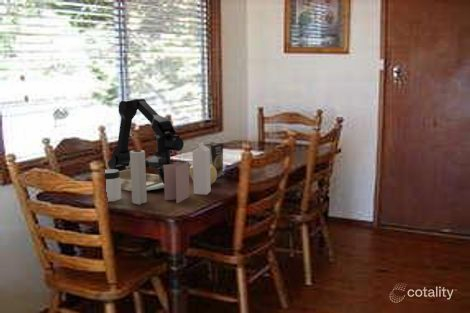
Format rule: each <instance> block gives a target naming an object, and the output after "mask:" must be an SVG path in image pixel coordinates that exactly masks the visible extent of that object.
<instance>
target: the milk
mask: <svg viewBox="0 0 470 313" xmlns="http://www.w3.org/2000/svg"><path fill="white" fill-rule="evenodd" d="M204 145H205V144H204V141H201V142H199V143H198V147H197V148H195V149H193V150H192V165H193V179H192V181H193V184H192V185H193V195H204V196H205V195H206V196H207V195H208V194H209V193H211V192H212V190H211V185H212V184H211V183H210V149H209V148H207V147H206V146H204Z"/></svg>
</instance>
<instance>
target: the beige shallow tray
mask: <svg viewBox="0 0 470 313" xmlns="http://www.w3.org/2000/svg"><path fill="white" fill-rule="evenodd" d="M119 173H120V180H121V191H122V190H123V191H129V192H132V189H131V167H130V168H128V169H127V168H126V170H123V171H119ZM159 183H161V182H160V174H154V173H146V188H147V187H150V186H153V185H156V184H159Z"/></svg>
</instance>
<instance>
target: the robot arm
mask: <svg viewBox="0 0 470 313" xmlns="http://www.w3.org/2000/svg"><path fill="white" fill-rule="evenodd" d="M138 111H139V113H141V114H142V115H143V116H144V118H146V120H147V121H148V122H149V123H150V128H151V129H152V130H153V132H154V133H155V135H153V139H156V151H155V152H154V156H153V157H151V158H149V159H147V160H146V159H145V167H146V168H147V169H148V168H149V169H154V170H155V171H156V172H158V175H159V177H160V178H161V179H160V180H161V181H162V183H163V184H164V165H169V164H177V163H185V161H174V162H173V159H171V154H172V153H173V151H174V152H175V151H176V152H180V151H182V149H183V148H184V145H185V144H184V140H183V138H181V137H180V134H177V132H176V130H175V128H174V127H173V125H172V122H171V121H170V119H168V118H166V117H165V116H162V115H160V114H158V112H157V111H156V110H154V108H153V107H152V106H151V105H150V104H149V103H147V102H146V99H145V98H141V97H139V98H134V99H125V100H124V99H123V100H120V102H119V103H118V114H119V116H120V125H119V130H118V139H117V145H116V147H115V148H114V149H113V151H112V155H111V158H110V159H109V161H108V162H107V164H108V168H109V169H116V170H119V171H123V170H126V169H127V167H129V166H130V151H131V150H129V142H130V136H131V129H132V123H133V119H134V118H135V116H136V115H137V112H138Z"/></svg>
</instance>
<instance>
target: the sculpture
mask: <svg viewBox="0 0 470 313" xmlns="http://www.w3.org/2000/svg"><path fill="white" fill-rule="evenodd" d="M189 177H191V179H192V180H193V164H191V165H190V166H189ZM217 178H218V177H217V171H216V168H215V167H214V166H213V165H212V164H211V163H210V183H211V185H213V184H214V183H215V182H216V181H217Z"/></svg>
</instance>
